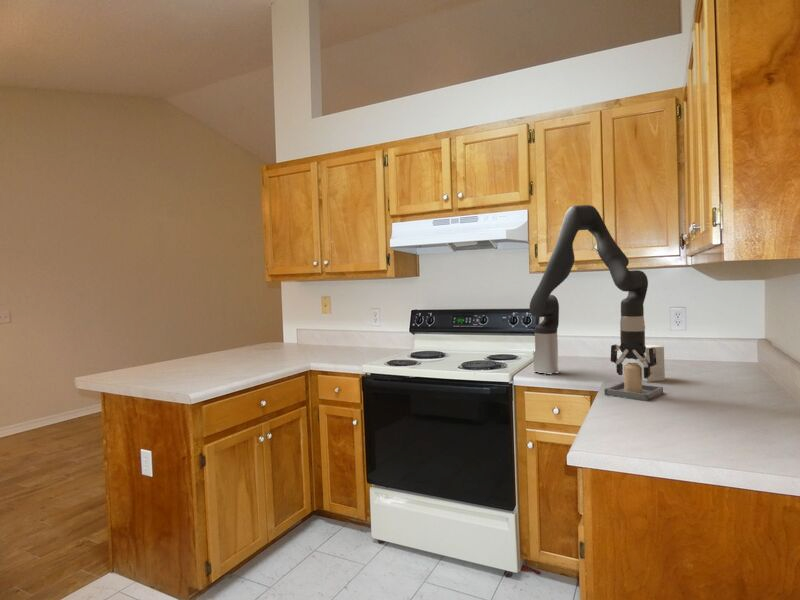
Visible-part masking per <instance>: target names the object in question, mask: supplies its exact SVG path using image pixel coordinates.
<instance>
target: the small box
mask: <svg viewBox="0 0 800 600" xmlns="http://www.w3.org/2000/svg"><path fill="white" fill-rule="evenodd" d="M645 347H646V348H652V347H654V348H655V350H656V362H657V364H656V365H654V366H651V367H650V376H649V377H648V378H644V367H645V366H644V365H643V363H642V362H640V361H639V359H637V360H636V359H634V360H635V362H634V363H638V364H639V365H640V366H641V367H642V382H645V383H648V382H650V383H651V382H659V381H665V380H666V375H665V374H666V373H665V346H663V345H657V344H645ZM644 355H645V356H646V357H647V360H648V361H649V362H650V357H649V354H648V353H647V351H646V352H645V353H644Z"/></svg>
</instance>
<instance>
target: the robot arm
mask: <svg viewBox="0 0 800 600" xmlns="http://www.w3.org/2000/svg"><path fill="white" fill-rule="evenodd" d="M586 230H587V231H588V232H589V233H590V234H592V236H593V237H594V239H595V241H596V249H597V250H596V251H597V254H598V257H599V258H600V260H601V261H602V262H603V264H604V265H605V266H606V267H607V269H608V270H609V273H610V276H611V278H612V281H613V284H614V286H616V288H617V289H619V290H620V291H622V292H626V293H627V292H628V293H627V296H626V297H625V298H623V299H621V301H620V321H619V323H620V324H619V325H620V326H619V327H620V330H619V331H620V335H619V336H620V345H618V344H617V343H615V344H613V345H611V346H610V362H611V363H615V365H616V367H615V368H616V374H617V375H619V376H622V375H624V366H623V365H624V364H623V362H624V361H625V360H626V359H627V360H628V359H629V360H630V359H632V360H635V359H636V360H637V359H639V361H640V362H642V363H643V365H644V366H645V367H644V378H648V377H649V376H650V367H651V366H654V365H656V364H657V362H656V350H655V348H654V347H652V348H646V347H645V345H646V325H645V316H644V313H645V312H644V311H645V310H644V304H645V299H646V297H647V292H648V286H649V279H648V276H647V274H646V273H645V272H644V271H642V270H639V269H637V270H629V269H628V265H629V263H630V262H629V259H628V257H627V255H626V254H625V253H624V251H623V250H622V249H621V247H620V246H618V244H617V242H616V241H615V240H614V238H613V237H612V235H611V233H610V231H609V229H608V227H607V225H606V224H605V222H604V220H603V218H602V216H601V214H600V213H599V211H598V210H597V208H596V207H594V205H590V204H589V205H588V204H581V205H577V204H576V205H573V206H569V208H568V209H566V212H565V214H564V216H563V220H562V224H561V227H560V231H559V233H558V237H557V240H556V242H555V246H554V248H553V251H552V253H551V255H550V257H549V260H548V263H547V265H546V268H545V270H544V273H543V274H542V277H541V279H540V282H539V284H538V286H537V287H536V290H535V292H534V293H533V295H532V297H531V299H530V302H529V312H530V315H532V316H533V317H535V318H543V320H542V322H540V323H538V324H536V325H535V326H534V348H535V349H534V350H532V351H533V353H532V355H533V372H534V371H537V372H542V373H556V372H558V373H559V347H558V328H559V324H560V323H559V321H560V320H559V318H560V303H559V301H558V300H559V299H558V298H557V297H556V296H555V295H553V294H552V292H553V291H554V290H556V288H558V287H559V286H560V285H561V284H562V283H564V282H565V280H566V279H567V278H568V276H569V275H570V273H571V271H572V269H573V267H574V264H575V251H574V248H573V247H574V245H573V244H574V241H575V239H576V236H577V234H578V232H579V231H586ZM618 351H620V352H621V354H620V356H618ZM646 351H647V353H648V354H649V357H650V362H649V361H648V360H647V357H646V356H645V355H644V353H645V352H646Z"/></svg>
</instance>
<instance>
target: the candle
mask: <svg viewBox="0 0 800 600" xmlns="http://www.w3.org/2000/svg"><path fill="white" fill-rule="evenodd" d="M623 382H624V391H628V392H635V393H642V385H643V381H642V367H641V366H640V365H639V364H638V363H635V362H628V363H627V364H625V365H624V366H623Z"/></svg>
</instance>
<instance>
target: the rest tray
mask: <svg viewBox="0 0 800 600" xmlns="http://www.w3.org/2000/svg"><path fill="white" fill-rule="evenodd" d="M603 391H604V395H605V396H609V395H613V396H612V397H616V396H620V397H619V398H623V397H626V398H625V399H630V398H632V399H631V400H637V399H638V401H644V402H649V401H651V400H653V399H654V398H657V397H658V396H661V394H663V393H664V386H656V385H649V384H648V385H647V384H642V393H635V392H628V391H624V381H620V382H618V383H616V384H615V383H614V384H613V385H611V386H608V387H606V388H604V390H603Z"/></svg>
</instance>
